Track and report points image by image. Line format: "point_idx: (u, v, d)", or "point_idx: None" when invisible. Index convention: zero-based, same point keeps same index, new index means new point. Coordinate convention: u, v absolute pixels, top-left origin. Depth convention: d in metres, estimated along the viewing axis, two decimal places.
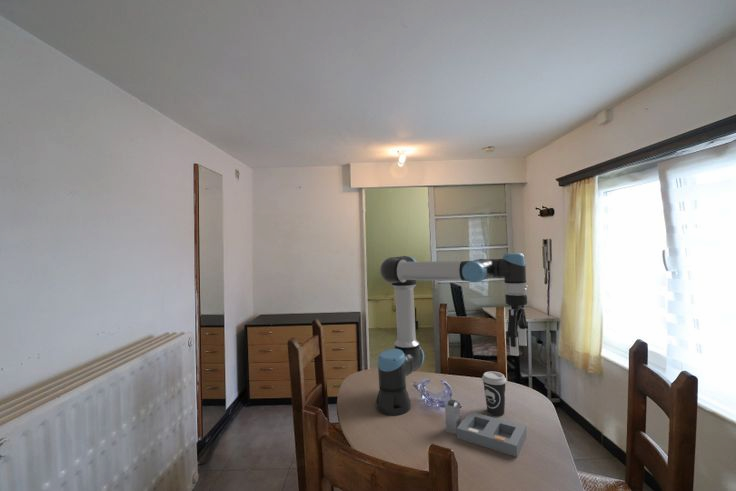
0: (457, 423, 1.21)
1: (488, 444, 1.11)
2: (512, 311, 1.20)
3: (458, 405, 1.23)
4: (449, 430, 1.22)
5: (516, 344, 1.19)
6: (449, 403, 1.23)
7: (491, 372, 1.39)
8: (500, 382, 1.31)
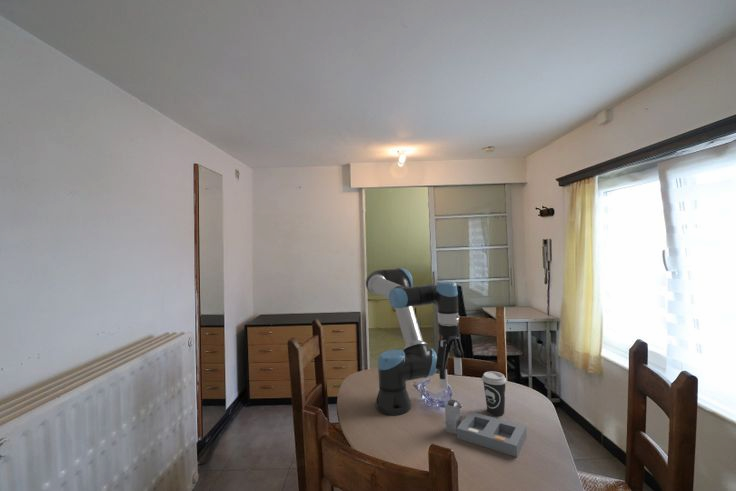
0: (457, 423, 1.21)
1: (488, 444, 1.11)
2: (441, 343, 1.18)
3: (458, 405, 1.23)
4: (449, 430, 1.22)
5: (445, 376, 1.17)
6: (449, 403, 1.23)
7: (491, 372, 1.39)
8: (500, 382, 1.31)
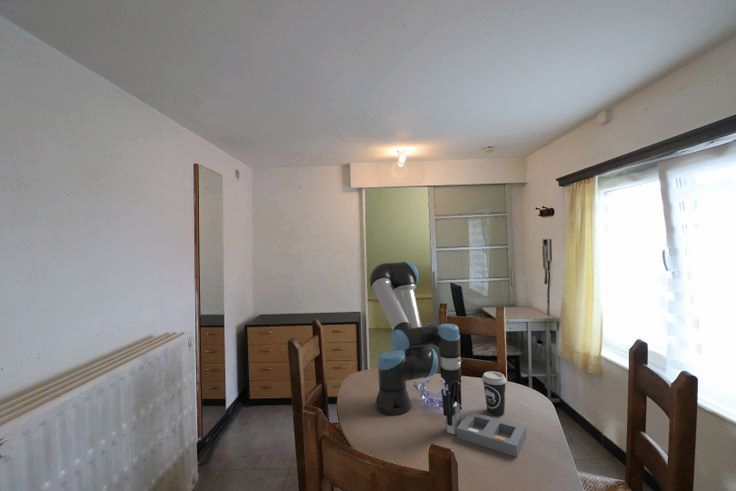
0: (457, 423, 1.21)
1: (488, 444, 1.11)
2: (444, 393, 1.18)
3: (458, 405, 1.23)
4: None
5: (452, 423, 1.20)
6: None
7: (491, 372, 1.39)
8: (500, 382, 1.31)
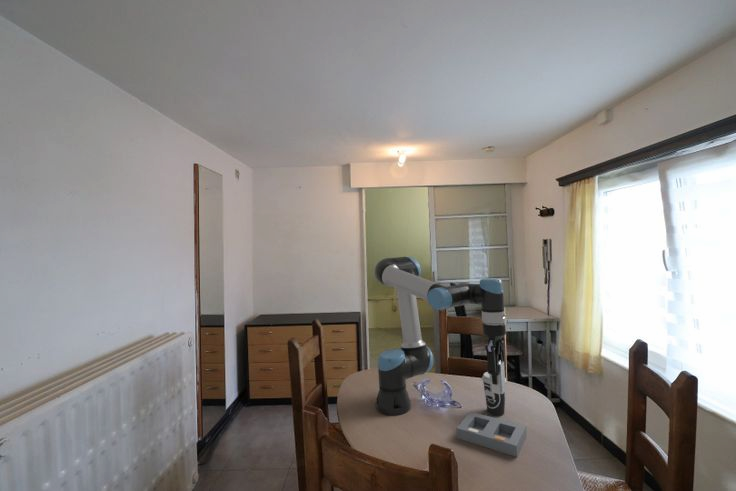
0: (502, 382, 1.13)
1: (488, 444, 1.11)
2: (489, 349, 1.11)
3: (503, 364, 1.15)
4: None
5: (498, 381, 1.12)
6: None
7: None
8: None
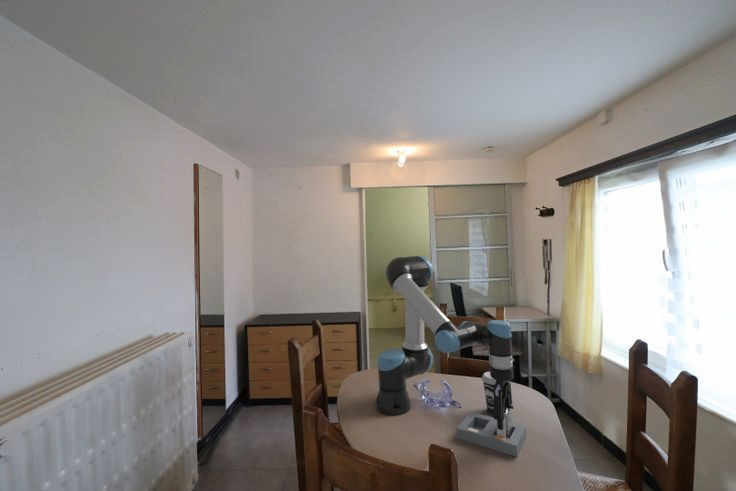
0: (509, 431, 1.13)
1: (488, 444, 1.11)
2: (496, 393, 1.10)
3: (510, 412, 1.15)
4: None
5: (503, 426, 1.11)
6: None
7: None
8: None
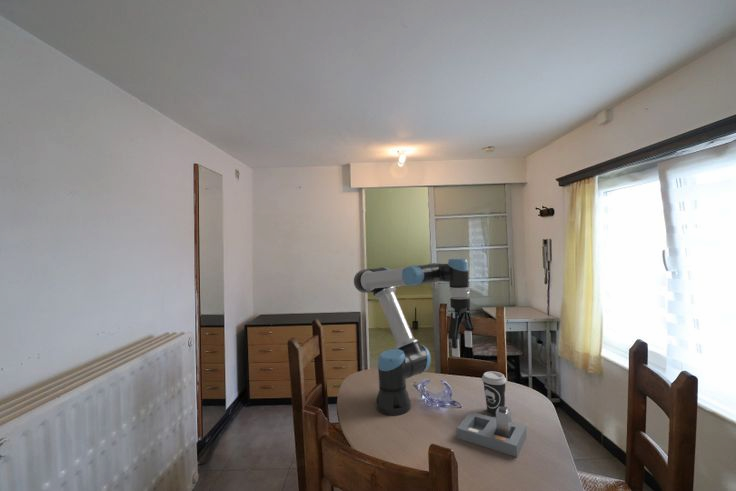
0: (509, 431, 1.13)
1: (488, 444, 1.11)
2: (453, 315, 1.25)
3: (510, 412, 1.15)
4: None
5: (457, 346, 1.24)
6: (500, 410, 1.14)
7: (491, 372, 1.39)
8: (500, 382, 1.31)
